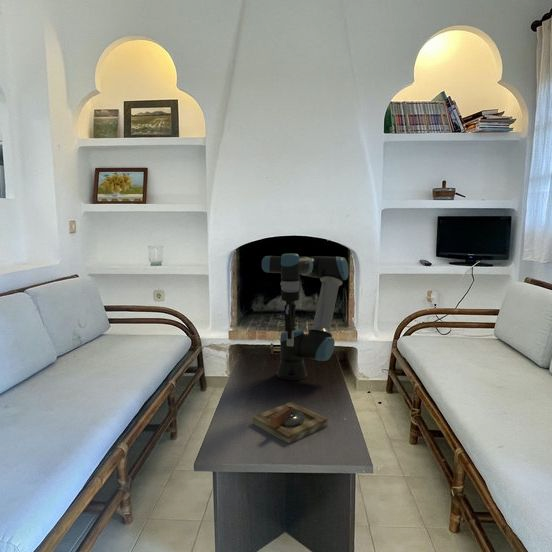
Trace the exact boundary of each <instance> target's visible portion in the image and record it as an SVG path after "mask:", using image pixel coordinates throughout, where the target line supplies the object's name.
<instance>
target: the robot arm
mask: <svg viewBox="0 0 552 552" xmlns="http://www.w3.org/2000/svg"><path fill="white" fill-rule="evenodd" d="M261 269H262V271H263V272H265V273H270V274H271V273H272V274H280V283H279V284H280V289H281V291H280V300H281V301H284V302H285V305H284V310H283V313H284V324H285V325H284V326H285V329H284V331H283V332H281V333H280V339H279V344H280V345H279V346H280V350H279V351H280V361H279V362H278V363H279V365H278V367H277V370H276V376H277V378H278V379H281V380H282V381H283V380H284V381H290V382H291V381H293V382H294V381H301V380H304V379H306V378H307V376H308V371H307V368H306V364H305V362H304V359H310V360H316V361H318V362H319V361H322V362H325V361H328V360H329V359H331V357H332V356H333V353H334V350H335V346H336V345H335V342H336V341H335V339H334V337H333V334H332V332H331V326H332V321H333V317H334V313H335V312H334V311H335V306H336V303H337V298H338V297H337V296H338V292H339V287H340V286H342V285H343V284H344V283H343V282H344V281H346V280H348V278H349V271H350V269H349V263H348V261H347V259H346V257H342V256H328V255H327V256H326V255H325V256H323V255H318V256H317V255H316V256H315V255H314V256H303V255H302V256H300V255H299V254H298V253H283V254H281V256H279V255H277V256H276V255H265V256H264V257H263V258H262V260H261ZM300 275H301V276H305V277H309V278H310V277H311V278H316V279H319V281H320V282H321V287H320V292H319V296H318V302H317V306H316V310H315V315H314V320H313V323H312V324H313V325H312V327H311V328H309V329H308V333H305V331H304V330H303V329H301V328H297V329H296V328H295V327H296V326H295V324H296V319H295V318H296V307H297V305H296V303H295V302H298V301H299V300H300V291H299V290H300Z"/></svg>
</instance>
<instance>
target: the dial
mask: <svg viewBox="0 0 552 552" xmlns="http://www.w3.org/2000/svg"><path fill="white" fill-rule="evenodd" d="M304 417H305V416H304V414H303V413H302V412H300V411H298V410H291V409H290V408H287V407H285V408H283V409H281V410H280V411H278V412H277V413H275V414H274V415H272V416H271V427H274V428H276V427H278V426H279V425H282V426H287V427H294V426H299V425H301V424H303V423H304Z"/></svg>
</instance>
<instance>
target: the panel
mask: <svg viewBox="0 0 552 552" xmlns="http://www.w3.org/2000/svg"><path fill="white" fill-rule="evenodd" d="M285 407H287V408H290V409H291V410H298V411H300V412H302V413H303V414H304V416H305V417H304V423H303V424H301V425H299V426H294V427H287V426H282V425H279V426H278V427H276V428H274V427H271V416H272V415H274V414H275V413H277V412H278V411H280V410H281V409H283V408H285ZM328 420H329V419H328V418H327V417H325V416H322V415H321V414H319V413H316V412H313V411H312V410H310V409H308V408H305V407H303V406H302V405H299V404H297V403H294V402H292V401H290V402H288V403H283V404H282V405H279V406H276V407H273V408H271V409H269V410H266V411H264V412H261V413H258V414H255V415H253V416H252V424H253V425H255V426H256V427H258V428H259V429H262V430H264V431H265V432H267V433H268V434H271V435H272V436H274V437H275V438H277V439H279V440H281V441H283V442H284V443H286V444H291V443H294V442H296V441H298V440H300V439H302V438H304V437H306V436H308V435H311V434H312V433H315V432H317V431H319V430H321V429H323V428H325V427H328Z"/></svg>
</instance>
